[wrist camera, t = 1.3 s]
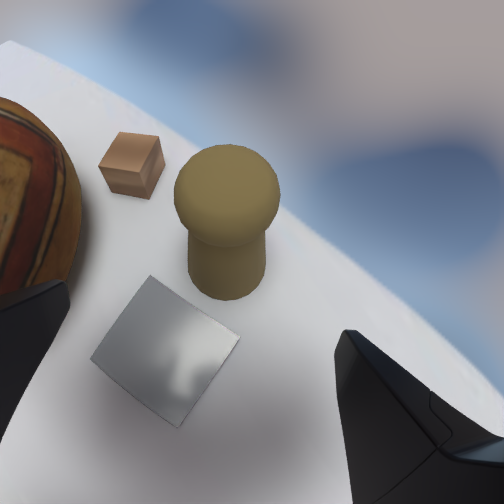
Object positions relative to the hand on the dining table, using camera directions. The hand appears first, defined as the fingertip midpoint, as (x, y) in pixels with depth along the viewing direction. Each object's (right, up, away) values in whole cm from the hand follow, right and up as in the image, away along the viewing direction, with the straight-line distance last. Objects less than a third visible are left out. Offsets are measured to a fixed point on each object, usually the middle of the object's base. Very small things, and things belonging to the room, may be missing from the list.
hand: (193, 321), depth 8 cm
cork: (0, +1, +15) cm, 15 cm away
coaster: (-5, -5, +11) cm, 13 cm away
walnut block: (-9, +9, +17) cm, 21 cm away
